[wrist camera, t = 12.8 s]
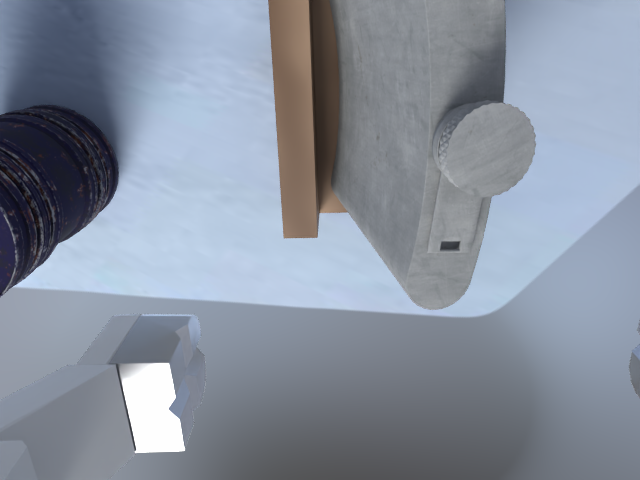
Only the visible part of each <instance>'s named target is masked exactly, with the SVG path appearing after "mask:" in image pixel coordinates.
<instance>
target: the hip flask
mask: <svg viewBox="0 0 640 480" xmlns="http://www.w3.org/2000/svg"><path fill="white" fill-rule="evenodd" d="M329 1H330V7H331V12H332V17H333V23H334V29H335V36H336V45H337V55H338V68H339V125H338V138H337V147H336V155H335V161H334V167H333V171H332V176H331V187H332V190H333V192H334V194H335V195H336V196H337V198H338V199H339V201H340V202H341V203H342V205H343V206H344V207H345V209H346V210H347V212H348V213H349V214H350V216H351V217H352V219H353V220H354V221H355V223H356V224H357V225H358V227H359V228H360V230H361V231H362V232H363V234H364V235H365V237H366V238H367V239H368V241H369V242H370V243H371V245H372V246H373V248H374V249H375V250H376V252H377V253H378V255H379V256H380V257H381V259H382V260H383V261H384V263H385V264H386V266H387V267H388V268H389V270H390V271H391V272H392V274H393V275H394V277H395V278H396V279H397V281H398V282H399V284H400V285H401V286H402V288H403V289H404V290H405V292H406V293H407V295H408V296H409V297H410V299H411V300H412V301H413V302H414V303H415V304H416V305H418V306H420V307H422V308H424V309H429V310H437V309H442V308H445V307H448V306H450V305H452V304H454V303H455V302H456V301H458V300H459V299H460V298H461V297H462V296H463V295H464V293H465V292H466V290H467V289H468V287H469V284H470V281H471V278H472V275H473V272H474V268H475V265H476V262H477V258H478V255H479V251H480V247H481V244H482V240H483V236H484V231H485V227H486V222H487V218H488V213H489V208H490V203H491V198H492V196H494V195H500V194H501V193H503V192H505V191H508V190H509V189H510V188H511V187H513V186H515V185H516V184H517V182H518V181H520V180H521V179H522V178H523V176H524V174H525V173H526V172H527V171H528V168H529V166H530V165H531V163H532V158H533V156H534V154H535V146H536V142H535V133H534V128H533V126H532V125H531V123H530V119H529V118H528V117H526V115H525V113H524V112H522V111H520V110H519V109H518V108H517V107H513V106H512V105H510V104H505V103H503V99H504V84H505V54H506V20H505V0H329Z"/></svg>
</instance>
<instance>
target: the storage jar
mask: <svg viewBox="0 0 640 480" xmlns="http://www.w3.org/2000/svg"><path fill="white" fill-rule="evenodd" d="M117 184H118V164H117V160H116V156H115V153H114V151H113V149H112V147H111V145H110V143H109V141H108V140H107V138H106V137H105V135H104V134H103V133H102V132H101V130H100V129H99V128H98V127H97V126H96V125H95V124H93V123H92V122H91V121H90V120H88V119H87V118H86V117H84V116H83V115H81V114H79V113H77V112H75V111H73V110H70V109H68V108H65V107H60V106H55V105H39V106H33V107H30V108H27V109H23V110H15V111H12V112H9V113H5V114H2V115H0V297H1V296H2V295H3V294H5V293H6V292H7V291H8V290H9V289H10V288H11V287H13V286H14V285H16V284H18V283H19V282H21V281H22V280H24V279H25V278H26V277H27V276H28V275H30V274H31V273H32V272H33V271H34V270H35V269H36V268H37V267H39V266H40V265H42V264H43V263H44V262H45V261H46V260H47V259H48V258H49V256H50V255H51V253H52V252H53V250H54V249H55V247H56V246H57V244H58V243H60V242H63V241H65V240H67V239H69V238H70V237H72V236H73V235H75V234H76V233H77V232H79V231H80V230H81V229H83V228H84V227H86V226H87V225H88V224H89V223H90V222H91V221H92V220H93V219H94V218H95V217H96V216H97V215H98V213H99V212H101V211H102V210H103V209H104V208H105V207H106V206H107V205H108V204H109V202H110V201H111V199H112V198H113V196H114V194H115V191H116V188H117Z"/></svg>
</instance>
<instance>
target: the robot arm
mask: <svg viewBox="0 0 640 480" xmlns="http://www.w3.org/2000/svg"><path fill="white" fill-rule="evenodd" d="M637 331H638V333H639V334H640V321H639V325H638V328H637ZM200 337H201V330H200V324H199V319H198V318H197V316H196V315H173V314H170V315H169V314H144V315H142V314H124V315H123V314H121V315H115V316H112V317H111V319H110V320H109V321H108V323H107V324H106V325H105V327H104V328H103V329H102V331H101V332H100V333H99V335H98V336H97V337H96V339H95V340H94V341H93V343H92V344H91V346H90V347H89V348H88V349H87V351H86V352H85V353H84V355H83V356H82V357H81V359H80V360H79V361H78V363H77V364H76V365H66V366H64V367H62V368H60V369H59V370H57V371H55V372H53V373H51V374H49V375H47V376H45V377H43V378H41V379H39V380H38V381H36V382H34V383H32V384H30V385H28V386H26V387H24V388H22V389H20V390H19V391H16V392H14V393H13V394H10V395H9V396H7V397H5V398H3V399H1V400H0V480H109V479H110V478H111V477H112V476H113V475H114V474H115V473H116V472H117V471H118V470H119V469H121V468H122V467H123V466H124V465H125V464H126V463H127V462H128V461H129V460H130V459H132V458H133V457H134V456H135V452H157V451H184V450H185V448H186V445H187V442H188V439H189V436H190V433H191V431H192V428H193V425H194V418H193V410H195V409H196V408H197V407H199V406H200V405H201V402H202V399H203V395H204V390H205V382H206V365H205V357H204V354H203V353H202V352H201V351H200V350H199V349H198V348H197V345H198V342H199V340H200ZM629 371H630V378H631V383H632V385H633V388H634V390H635V392H636V394H637V395H638V396H639V398H640V344H639V345H638V346H637V347H636V348H635V349H634V350H633V351H632V354H631V359H630V364H629Z"/></svg>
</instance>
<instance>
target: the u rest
mask: <svg viewBox="0 0 640 480" xmlns="http://www.w3.org/2000/svg"><path fill="white" fill-rule="evenodd" d="M268 2H269V18H270V33H271V49H272V64H273V80H274V95H275V110H276V126H277V141H278V157H279V172H280V188H281V203H282V219H283V234H284V238H317V237H318V224H319V213H342V212H347V210H346V209H345V207H344V206H343V205H342V203H341V202H340V201H339V199H338V198H337V196H336V195H335V194H334V192H333V190H332V187H331V176H332V171H333V167H334V161H335V155H336V147H337V138H338V125H339V68H338V55H337V45H336V36H335V29H334V23H333V17H332V12H331V7H330V1H329V0H268Z"/></svg>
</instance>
